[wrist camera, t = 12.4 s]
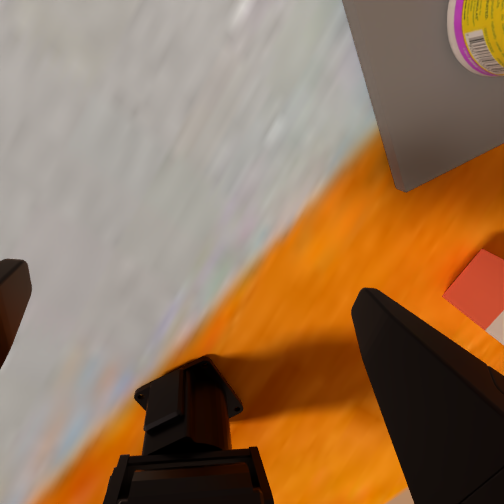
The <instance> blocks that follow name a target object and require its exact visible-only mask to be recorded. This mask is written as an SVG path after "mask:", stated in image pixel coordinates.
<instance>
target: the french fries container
mask: <svg viewBox="0 0 504 504" xmlns="http://www.w3.org/2000/svg"><path fill="white" fill-rule="evenodd" d="M442 297H443V298H445V299H446V300H447V301H448V302H450V303H451V304H452V305H453V306H455V307H456V308H457V309H458V310H460V311H461V312H462V313H464V314H465V315H466V316H467V317H469V318H470V319H471V320H472V321H474V322H475V323H476V324H477V325H479V326H480V327H481V328H482V329H484V330H485V331H486V332H487V333H489V334H490V335H491V336H493V337H494V338H495V339H496V340H498V341H499V342H500V343H502V344H503V345H504V260H503V259H501V258H499V257H497V256H495V255H493V254H491V253H490V252H488V251H486V250H484V249H481V250H480V251H479V253H478V254H477V255H476V256H475V257H474V258H473V260H472V261H471V262H470V263H469V264H468V266H467V267H466V268H465V269H464V270H463V272H462V273H461V274H460V275H459V276H458V277H457V279H456V280H455V281H454V282H453V283H452V285H451V286H450V287H449V288H448V289H447V290H446V292H445V293H444V294H443V295H442Z"/></svg>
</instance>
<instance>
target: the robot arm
mask: <svg viewBox="0 0 504 504" xmlns="http://www.w3.org/2000/svg"><path fill="white" fill-rule="evenodd" d="M31 292H32V285H31V280H30V274H29V269H28V264H27V262H26V261H24V260H19V259H4V260H2V261H0V369H1V367H2V365H3V363H4V361H5V359H6V357H7V355H8V353H9V351H10V349H11V346H12V344H13V342H14V339H15V336H16V334H17V331H18V328H19V326H20V323H21V320H22V318H23V315H24V312H25V310H26V307H27V304H28V302H29V299H30V296H31ZM351 315H352V319H353V324H354V328H355V332H356V336H357V340H358V344H359V348H360V352H361V356H362V359H363V362H364V365H365V368H366V371H367V374H368V377H369V379H370V382H371V385H372V388H373V391H374V393H375V396H376V399H377V402H378V404H379V407H380V410H381V413H382V415H383V418H384V421H385V424H386V426H387V429H388V432H389V435H390V438H391V440H392V443H393V446H394V449H395V451H396V454H397V457H398V460H399V462H400V465H401V468H402V471H403V473H404V476H405V479H406V482H407V485H408V487H409V490H410V493H411V496H412V498H413V501H414V504H504V376H503V375H502V374H500V373H499V372H497V371H496V370H494V369H493V368H491V367H490V366H487V364H486V363H484V362H483V361H481V360H480V359H478V358H477V357H475V356H474V355H472V354H471V353H469V352H468V351H467V350H465V349H464V348H462V347H461V346H459V345H458V344H456V343H455V342H453V341H452V340H451V339H449V338H448V337H446V336H445V335H443V334H442V333H440V332H439V331H437V330H436V329H435V328H433V327H432V326H430V325H429V324H427V323H426V322H424V321H423V320H421V319H420V318H419V317H417V316H416V315H414V314H413V313H411V312H410V311H408V310H407V309H405V308H404V307H402V306H401V305H400V304H398V303H397V302H395V301H394V300H392V299H391V298H389V297H388V296H386V295H385V294H384V293H382V292H381V291H379V290H378V289H375V288H362V289H361V290H360V292H359V294H358V296H357V298H356V300H355V302H354V305H353V307H352V310H351ZM203 363H207V364H205V365H203ZM140 394H141V395H140ZM134 399H135V400H136V401H137V402H138V403H139V404H140V405H141V406H142V407H143V409H144V410H145V411H146V416H145V422H144V431H145V437H144V443H143V450H142V455H139V456H130V454H129V455H120V458H119V461H118V465H117V467H115V468H114V470H113V473H112V475H111V476H110V479H109V484H108V488H107V492H106V495H105V499H104V502H103V504H274V500H273V496H272V492H271V489H270V486H269V483H268V480H267V476H266V473H265V470H264V467H263V464H262V460H261V457H260V454H259V451H258V447H249V449H234V450H232V444H231V434H230V425H229V418H231V417H233V416H235V415H237V414H239V413H241V412H242V411H243V404H242V402H241V401H240V399H239V398H238V397H237V395H236V394H235V392H234V391H233V390H232V388H231V387H230V386H229V384H228V383H227V381H226V380H225V379H224V377H223V376H222V375H221V373H220V372H219V371H218V369H217V368H216V366H215V365H214V364H213V362H212V361H211V360H210V359H209V358H208V357H202V358H199V359H197V360H195V361H193V362H191V363H189V364H187V365H185V366H183V367H181V368H179V369H177V370H175V371H173V372H171V373H169V374H167V375H165V376H163V377H161V378H159V379H157V380H155V381H153V382H151V383H149V384H147V385H145V386H143V387H141V388H139V389H137V390H136V391H135V395H134ZM236 407H237V408H236Z"/></svg>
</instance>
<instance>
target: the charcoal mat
mask: <svg viewBox="0 0 504 504" xmlns="http://www.w3.org/2000/svg"><path fill="white" fill-rule="evenodd" d="M342 1H343V5H344V8H345V12H346V15H347V19H348V22H349V26H350V29H351V33H352V36H353V40H354V43H355V47H356V50H357V54H358V57H359V61H360V64H361V68H362V71H363V75H364V78H365V82H366V85H367V89H368V92H369V96H370V99H371V103H372V106H373V110H374V113H375V117H376V120H377V124H378V127H379V131H380V134H381V138H382V141H383V145H384V148H385V152H386V155H387V159H388V162H389V166H390V169H391V173H392V176H393V180H394V183H395V187H396V188H397V189H399V190H401V191H404V192H408V191H410V190H412V189H414V188H416V187H418V186H420V185H422V184H424V183H426V182H428V181H430V180H432V179H434V178H436V177H438V176H440V175H442V174H444V173H446V172H448V171H450V170H452V169H454V168H456V167H457V166H459V165H461V164H463V163H465V162H467V161H469V160H471V159H473V158H475V157H477V156H479V155H481V154H483V153H485V152H487V151H489V150H491V149H493V148H495V147H497V146H499V145H501V144H503V143H504V76H497V77H488V76H481V75H478V74H475V73H473V72H471V71H469V70H468V69H466V68H465V67H464V66H463V65H462V64H461V63H460V62H459V61H458V60H457V58H456V57H455V55H454V53H453V51H452V49H451V46H450V43H449V39H448V32H447V10H448V4H449V0H342Z"/></svg>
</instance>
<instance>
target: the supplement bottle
mask: <svg viewBox="0 0 504 504" xmlns="http://www.w3.org/2000/svg"><path fill="white" fill-rule="evenodd" d="M447 32H448V39H449V43H450V46H451V49H452V51H453V53H454V55H455V57H456V58H457V60H458V61H459V62H460V63H461V64H462V65H463V66H464V67H465V68H466V69H468V70H469V71H471V72H473V73H475V74H478V75H481V76H488V77H497V76H504V0H449V4H448V10H447Z"/></svg>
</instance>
